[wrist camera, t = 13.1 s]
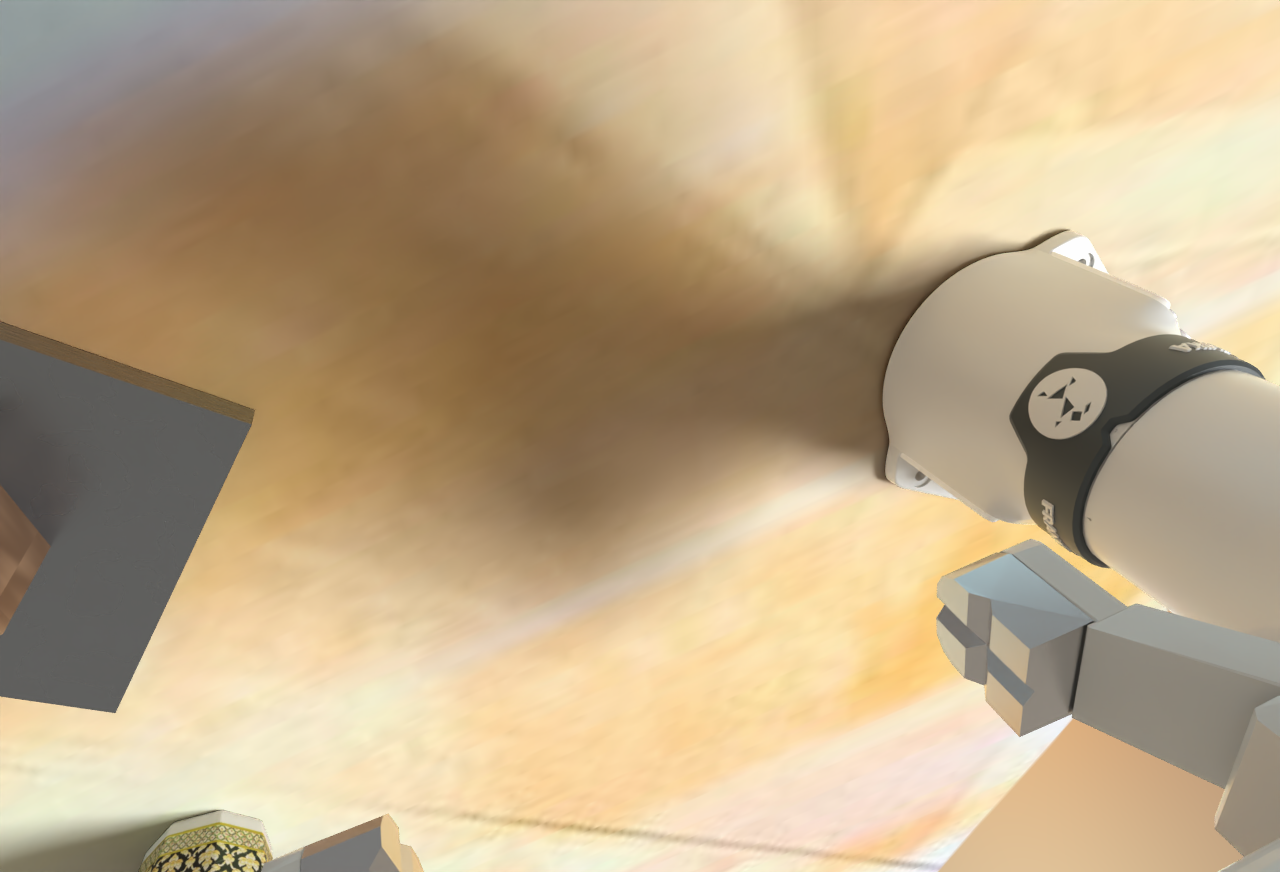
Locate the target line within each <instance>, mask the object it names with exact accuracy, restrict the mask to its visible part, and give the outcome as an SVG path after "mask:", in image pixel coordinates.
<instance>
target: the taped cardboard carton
mask: <svg viewBox="0 0 1280 872" xmlns="http://www.w3.org/2000/svg"><path fill="white" fill-rule="evenodd" d="M50 547H51V546H50V545H49V544H48V543H47V541H46V540H45V539H44V538H43V536H42V535H41V534H40V533H39V531H38V530H37V529H36V528H35V527H34V525H33V524H32V523H31V522H30V520H29V519H28V518H27V517H26V516H25V514H24V513H23V512H22V511H21V509H20V508H19V507H18V506H17V504H16V503H15V502H14V501H13V500H12V498H11V497H10V496H9V495H8V493H7V492H6V491H5V490H4V489H3V487H2V486H1V485H0V635H2V634H3V633H4V631H5V629H6V627H7V626H8V624H9V622H10V620H11V618H12V616H13V615H14V613H15V611H16V609H17V607H18V605H19V604H20V602H21V600H22V598H23V596H24V594H25V593H26V591H27V589H28V587H29V585H30V583H31V582H32V580H33V578H34V576H35V574H36V572H37V571H38V569H39V567H40V565H41V563H42V562H43V560H44V558H45V556H46V554H47V552H48V551H49V549H50Z"/></svg>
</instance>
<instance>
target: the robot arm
mask: <svg viewBox="0 0 1280 872" xmlns="http://www.w3.org/2000/svg"><path fill="white" fill-rule="evenodd" d="M883 411H884V417H885V421H886V425H887V429H888V433H889V441H890V443H889V448H888V453H887V459H886V466H885V474H886V477H887V479H888V480H889V481H890V482H892V483H893V484H895V485H897V486H898V487H900V488H903V489H908V490H913V491H918V492H923V493H927V494H932V495H937V496H942V497H947V498H952V499H957V500H960V501H961V502H963V503H964V504H965V505H967V506H968V507H969V508H971V509H972V510H973V511H975V512H976V513H978V514H979V515H980V516H982V517H983V518H985V519H987V520H989V521H991V522H996V521H998V520H1002V521H1005V522H1008V523H1014V524H1028V525H1038V526H1039V527H1040V528H1041V529H1043V530H1044V531H1046V532H1047V533H1048V534H1050V535H1051V536H1052V538H1053V539H1054V540H1055V541H1056V542H1057V543H1058V544H1060V545H1061V546H1063V547H1064V548H1066V549H1067V550H1068V551H1070V552H1073V553H1074V554H1076V555H1078V556H1081V557H1082V558H1084V559H1085V560H1087V561H1088V562H1090V563H1091V564H1094V565H1096V566H1099V567H1104V568H1111V569H1113V570H1114V571H1116V572H1117V573H1118V574H1120V575H1121V576H1122V577H1124V578H1125V579H1127V580H1128V581H1129V582H1131V583H1132V584H1133V585H1135V586H1136V587H1138V588H1139V589H1140V590H1142V591H1143V592H1144V593H1146V594H1147V595H1149V596H1150V597H1151V598H1153V599H1154V600H1155V601H1157V602H1158V603H1160V604H1161V605H1162V606H1164V607H1165V608H1166V609H1168V610H1169V611H1171V612H1172V613H1169V612H1165V611H1162V610H1158V609H1154V608H1151V607H1147V606H1143V605H1140V604H1134V605H1132V606H1129V607H1127V606H1125V605H1124V604H1123V603H1121V602H1120V601H1119V600H1117V599H1116V598H1115V597H1113V596H1112V595H1111V594H1109V593H1108V592H1107V591H1105V590H1104V589H1103V588H1101V587H1100V586H1099V585H1097V584H1096V583H1095V582H1093V581H1092V580H1091V579H1089V578H1088V577H1087V576H1085V575H1084V574H1083V573H1081V572H1080V571H1079V570H1077V569H1076V568H1075V567H1073V566H1072V565H1071V564H1069V563H1068V562H1067V561H1065V560H1064V559H1063V558H1061V557H1060V556H1059V555H1058V554H1056V553H1055V552H1054V551H1052V550H1051V549H1050V548H1048V547H1047V546H1046V545H1044V544H1043V543H1041V542H1039V541H1036V540H1033V539H1029V540H1027V541H1024V542H1022V543H1019V544H1017V545H1015V546H1013V547H1010V548H1008V549H1006V550H1003V551H1001V552H999V553H994V554H992V555H990V556H987V557H985V558H983V559H981V560H978V561H976V562H974V563H972V564H969V565H967V566H965V567H963V568H960V569H958V570H956V571H954V572H951V573H949V574H947V575H945V576H942V577H941V579H940V581H939V582H938V584H937V597H938V598H939V599H940V600H941V601H942V602H943V603H944V604H945V605H944V607H943V608H942V610H941V612H940V613H939V615H938V616H937V618H936V619H937V636H938V638H939V641H940V643H941V646H942V648H943V651H944V653H945V654H946V656H947V657H948V659H949V660H950V662H951V663H952V665H953V666H954V667H955V668H956V669H957V670H958V672H959V673H960V674H961V675H962V676H963V677H964V678H966V679H968V680H971V681H974V682H977V683H979V684H982V685H984V688H985V697H986V702H987V703H988V704H989V705H990V706H991V707H992V708H993V709H994V710H995V711H996V712H997V714H998V715H999V716H1000V717H1001V718H1002V719H1003V720H1004V721H1005V722H1006V723H1007V724H1008V725H1009V726H1010V727H1011V728H1012V729H1013V731H1014V732H1015V733H1016V734H1017V735H1018V736H1019V737H1021V736H1023V735H1025V734H1028V733H1030V732H1032V731H1034V730H1037V729H1039V728H1041V727H1044V726H1046V725H1048V724H1050V723H1053V722H1055V721H1057V720H1059V719H1062V718H1064V717H1066V716H1069V715H1071V714H1072V718H1074V719H1076V720H1078V721H1080V722H1082V723H1085V724H1087V725H1089V726H1091V727H1093V728H1095V729H1097V730H1099V731H1102V732H1104V733H1106V734H1108V735H1110V736H1112V737H1115V738H1117V739H1119V740H1121V741H1123V742H1125V743H1127V744H1129V745H1132V746H1134V747H1136V748H1138V749H1140V750H1142V751H1144V752H1147V753H1149V754H1151V755H1153V756H1155V757H1157V758H1159V759H1161V760H1164V761H1166V762H1168V763H1170V764H1172V765H1174V766H1176V767H1179V768H1181V769H1183V770H1185V771H1187V772H1189V773H1192V774H1193V775H1196V776H1198V777H1200V778H1202V779H1204V780H1207V781H1208V782H1211V783H1213V784H1215V785H1217V786H1219V787H1221V788H1223V789H1225V790H1224V793H1223V796H1222V798H1221V801H1220V804H1219V806H1218V809H1217V812H1216V814H1215V829H1216V831H1217V832H1219V833H1220V834H1221V835H1222V836H1223V837H1224V838H1225V839H1226V840H1227V841H1228V842H1229V843H1230V844H1231V845H1232V846H1233V847H1234V848H1235V849H1236V850H1238V852H1240V853H1241V854H1242V855H1243V856H1244V857H1243V858H1242V859H1240V860H1238V861H1236V862H1234V863H1232V864H1230V865H1229V866H1227V867H1225V868H1223V869H1221V870H1219V871H1218V872H1280V385H1277V384H1275V383H1272V382H1269V381H1267V380H1265V378H1264V376H1263V375H1262V373H1261V372H1260V371H1259V370H1258V369H1257V368H1256V367H1254V366H1253V365H1251V364H1249V363H1247V362H1245V361H1243V360H1240V359H1238V358H1237V357H1236V356H1234V355H1231V354H1230V352H1228V351H1225V350H1223V349H1221V348H1218V347H1216V346H1213V345H1211V344H1205V343H1200V342H1197V341H1195V340H1192V339H1191V338H1190V337H1189V336H1188V335H1187V334H1186V333H1185V332H1184V331H1183V330H1181V329H1180V328H1179V325H1178V322H1177V315H1176V313H1175V312H1174V311H1172V310H1171V309H1170V302H1169V301H1167V300H1166V299H1165V298H1163V297H1162V296H1160V295H1158V294H1155V293H1153V292H1151V291H1148V290H1146V289H1143V288H1141V287H1139V286H1136V285H1134V284H1131V283H1129V282H1127V281H1124V280H1122V279H1119V278H1117V277H1115V276H1112V275H1110V274H1108V272H1107V270H1106V268H1105V267H1104V265H1103V263H1102V261H1101V259H1100V258H1099V256H1098V254H1097V252H1096V250H1095V249H1094V247H1093V245H1092V243H1091V242H1090V240H1089V239H1088V238H1087V237H1086V236H1084V235H1082V234H1080V233H1078V232H1075V231H1072V230H1069V231H1064V232H1062V233H1059V234H1057V235H1055V236H1053V237H1051V238H1050V239H1048V240H1046V241H1044V242H1043V243H1041V244H1039V245H1038V246H1036V247H1034V248H1032V249H1029V250H1024V251H1018V252H1010V253H1002V254H997V255H994V256H990V257H987V258H984V259H982V260H979V261H977V262H975V263H973V264H971V265H969V266H967V267H965V268H964V269H962V270H960V271H959V272H957V273H956V274H954V275H953V276H951V277H950V278H949V279H948V280H946V281H945V282H944V283H943V284H941V285H940V286H939V287H938V288H937V289H936V290H935V291H934V292H933V293H932V294H931V295H930V296H929V297H928V298H927V299H926V300H925V301H924V302H923V303H922V305H921V306H920V307H919V308H918V309H917V311H916V312H915V313H914V315H913V316H912V317H911V319H910V320H909V322H908V323H907V325H906V327H905V328H904V330H903V332H902V333H901V335H900V337H899V339H898V341H897V343H896V345H895V347H894V350H893V352H892V355H891V357H890V360H889V363H888V367H887V371H886V375H885V380H884V386H883ZM261 872H424V871H423V868H422V866H421V864H420V861H419V859H418V857H417V855H416V853H415V852H414V850H413V849H412V847H411V846H407V845H403V844H400V840H399V827H398V826H397V825H396V823H395V822H394V821H393V819H392V818H391V817H390V815H389V814H386V815H384V816H381V817H378V818H376V819H373V820H371V821H368V822H366V823H363V824H361V825H358V826H356V827H353V828H351V829H348V830H346V831H343V832H340V833H338V834H335V835H333V836H330V837H328V838H325V839H323V840H320V841H318V842H315V843H313V844H310V845H308V846H305V847H303V848H300V849H298V850H295V851H293V852H291V853H288V854H286V855H283V856H281V857H279V858H276V859H274V860H271V861H269V862H267V863H264V866H263V868H262V870H261Z"/></svg>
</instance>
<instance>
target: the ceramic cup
mask: <svg viewBox="0 0 1280 872" xmlns="http://www.w3.org/2000/svg"><path fill="white" fill-rule="evenodd" d="M271 860H273V857H272V848H271V845H270V841H269V838H268V835H267V832H266V829H265V827H264V824H263V821H261V820H259V819H255V818H251V817H248V816H244V815H240V814H236V813H232V812H228V811H224V810H219V811H216V812H212V813H208V814H204V815H200V816H196V817H192V818H188V819H185V820H181V821H177V822H174V823H173V824H172V825H171V826H170V827H169V828H168V829H167V830H166V831H165V832H164V833H163V834H162V836H161V837H160V838H159V839H158V840H157V841H156V842H155V843H154V844H153V845H152V847H151V848H150V849H149V850H148V851H147V853H146V854H145V856H144V859H143V862H142V864H141V867H140V869H139V871H138V872H261V870H262V868H263V866H264V863H267V862H269V861H271Z"/></svg>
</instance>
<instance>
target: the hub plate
mask: <svg viewBox="0 0 1280 872" xmlns="http://www.w3.org/2000/svg"><path fill="white" fill-rule="evenodd" d="M254 411H255V410H253V409H250V408H248V407H245V406H242V405H239V404H236V403H233V402H230V401H227V400H225V399H222V398H219V397H216V396H213V395H210V394H207V393H204V392H201V391H199V390H196V389H193V388H190V387H187V386H184V385H181V384H178V383H176V382H173V381H170V380H167V379H164V378H161V377H158V376H155V375H153V374H150V373H147V372H144V371H141V370H138V369H135V368H132V367H129V366H127V365H124V364H121V363H118V362H115V361H112V360H109V359H106V358H104V357H101V356H98V355H95V354H92V353H89V352H86V351H83V350H81V349H78V348H75V347H72V346H69V345H66V344H63V343H60V342H57V341H55V340H52V339H49V338H46V337H43V336H40V335H37V334H34V333H32V332H29V331H26V330H23V329H20V328H17V327H14V326H11V325H8V324H6V323H3V322H0V485H1V486H2V487H3V489H4V490H5V491H6V492H7V493H8V495H9V496H10V497H11V498H12V500H13V501H14V502H15V503H16V504H17V506H18V507H19V508H20V509H21V511H22V512H23V513H24V514H25V516H26V517H27V518H28V519H29V520H30V522H31V523H32V524H33V525H34V527H35V528H36V529H37V530H38V531H39V533H40V534H41V535H42V536H43V538H44V539H45V540H46V541H47V543H48V544H49V545H50V546H51V547H50V549H49V551H48V552H47V554H46V556H45V558H44V560H43V562H42V563H41V565H40V567H39V569H38V571H37V572H36V574H35V576H34V578H33V580H32V582H31V583H30V585H29V587H28V589H27V591H26V593H25V594H24V596H23V598H22V600H21V602H20V604H19V605H18V607H17V609H16V611H15V613H14V615H13V616H12V618H11V620H10V622H9V624H8V626H7V627H6V629H5V631H4V633H3V634H2V635H0V696H1V697H8V698H15V699H22V700H29V701H36V702H43V703H50V704H56V705H63V706H70V707H77V708H84V709H91V710H98V711H105V712H112V713H116V710H117V708H118V706H119V704H120V702H121V700H122V698H123V696H124V693H125V691H126V689H127V687H128V685H129V683H130V681H131V679H132V677H133V674H134V672H135V670H136V668H137V666H138V664H139V662H140V660H141V657H142V655H143V653H144V651H145V649H146V647H147V645H148V643H149V641H150V638H151V636H152V634H153V632H154V630H155V628H156V626H157V624H158V621H159V619H160V617H161V615H162V613H163V611H164V609H165V607H166V605H167V602H168V600H169V598H170V596H171V594H172V592H173V590H174V588H175V585H176V583H177V581H178V579H179V577H180V575H181V573H182V571H183V569H184V566H185V564H186V562H187V560H188V558H189V556H190V554H191V552H192V550H193V547H194V545H195V543H196V541H197V539H198V537H199V535H200V533H201V530H202V528H203V526H204V524H205V522H206V520H207V518H208V516H209V514H210V511H211V509H212V507H213V505H214V503H215V501H216V499H217V497H218V494H219V492H220V490H221V488H222V486H223V484H224V482H225V480H226V478H227V475H228V473H229V471H230V469H231V467H232V465H233V463H234V461H235V458H236V456H237V454H238V452H239V450H240V448H241V446H242V444H243V442H244V439H245V437H246V435H247V433H248V431H249V429H250V427H251V425H252V420H253V416H254Z"/></svg>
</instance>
